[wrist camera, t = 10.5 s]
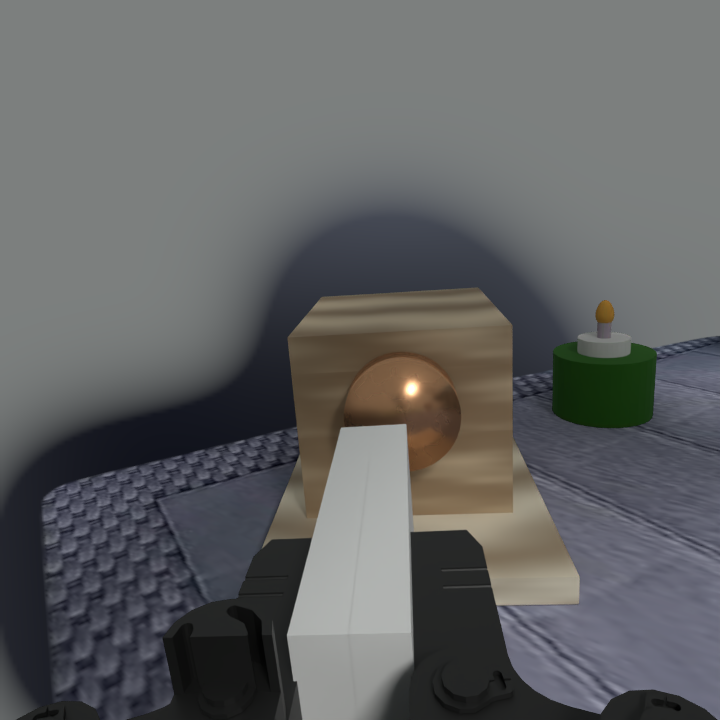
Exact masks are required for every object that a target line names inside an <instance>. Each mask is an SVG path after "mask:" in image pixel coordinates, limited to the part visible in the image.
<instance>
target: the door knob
mask: <svg viewBox="0 0 720 720" xmlns="http://www.w3.org/2000/svg"><path fill="white" fill-rule="evenodd" d="M397 424H406V427H407V441H408V455H409V469H410V471H416V470H420V469H423V468H426V467H428V466H430V465H432V464H434V463H436V462H437V461H439V460H440V459H441V458H442V457H444V456H445V455H446V454H447V452H448V451H449V450H450V449H451V448H452V446H453V445H454V443H455V441H456V439H457V437H458V434H459V431H460V426H461V408H460V404H459V400H458V397H457V393H456V390H455V387H454V384H453V382H452V380H451V379H450V377H449V375H448V374H447V373H446V371H445V370H444V369H443V368H442V367H441V366H440V365H438V364H437V363H436V362H434V361H433V360H431V359H429V358H427V357H425V356H423V355H420V354H416V353H411V352H393V353H388V354H384V355H382V356H379V357H377V358H375V359H373V360H371V361H370V362H369V363H367V364H366V365H365V366H364V367H363V368H362V369H361V370H360V371H359V372H358V373H357V375H356V376H355V378H354V380H353V381H352V384H351V386H350V389H349V392H348V396H347V400H346V403H345V408H344V425H345V427H361V426H379V425H397Z"/></svg>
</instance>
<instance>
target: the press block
mask: <svg viewBox="0 0 720 720" xmlns="http://www.w3.org/2000/svg"><path fill="white" fill-rule="evenodd" d="M288 345H289V354H290V364H291V374H292V383H293V393H294V402H295V412H296V421H297V430H298V440H299V449H300V455H299V458H298V460H297V463H296V465H295V468H294V470H293V473H292V475H291V478H290V480H289V482H288V485H287V487H286V490H285V492H284V495H283V497H282V500H281V502H280V505H279V507H278V510H277V512H276V515H275V517H274V520H273V522H272V525H271V527H270V530H269V532H268V535H267V537H266V539H265V542H264V544H263V547H264V546H265V545H266V544H267V543H269V542H270V541H271V540H272V539H296V538H312V537H313V533H314V530H315V526H316V522H317V518H318V514H319V510H320V507H321V503H322V499H323V495H324V491H325V487H326V483H327V480H328V476H329V472H330V468H331V464H332V460H333V457H334V453H335V449H336V445H337V441H338V437H339V434H340V430H341V428H343V427H345V425H344V408H345V403H346V400H347V396H348V392H349V389H350V386H351V384H352V381H353V380H354V378H355V376H356V375H357V373H358V372H359V371H360V370H361V369H362V368H363V367H364V366H365V365H366V364H367V363H369V362H370V361H371V360H373V359H375V358H377V357H379V356H382V355H384V354H388V353H393V352H411V353H416V354H420V355H423V356H425V357H427V358H429V359H431V360H433V361H434V362H436V363H437V364H438V365H440V366H441V367H442V368H443V369H444V370H445V371H446V373H447V374H448V375H449V377H450V379H451V380H452V382H453V384H454V387H455V390H456V393H457V397H458V400H459V404H460V408H461V426H460V431H459V434H458V437H457V439H456V441H455V443H454V445H453V446H452V448H451V449H450V450H449V451H448V452H447V454H446V455H445V456H444V457H442V458H441V459H440V460H439V461H437V462H436V463H434V464H432V465H430V466H428V467H426V468H423V469H420V470H416V471H410V483H411V497H412V511H413V525H414V532H423V531H448V530H467V531H468V532H469V533H470V534H471V535H472V536H473V537H474V538H475V539H476V540H477V541H478V542H479V543H480V544H481V545H482V546H483V551H484V555H485V559H486V564H487V570H488V572H489V577H490V581H491V587H492V589H493V594H494V598H495V602H496V605H553V604H579V582H580V577H579V575H578V572H577V570H576V568H575V566H574V564H573V562H572V560H571V558H570V556H569V554H568V551H567V549H566V547H565V545H564V543H563V541H562V539H561V537H560V535H559V533H558V530H557V528H556V526H555V524H554V522H553V520H552V518H551V516H550V514H549V512H548V509H547V507H546V505H545V503H544V501H543V499H542V497H541V495H540V493H539V491H538V489H537V486H536V484H535V482H534V480H533V478H532V476H531V474H530V472H529V470H528V468H527V465H526V463H525V461H524V459H523V457H522V455H521V453H520V451H519V449H518V447H517V444H516V442H515V440H514V438H513V389H512V324H511V323H510V322H509V321H508V320H507V319H506V318H505V317H504V316H503V314H502V313H501V312H500V311H499V310H498V309H497V308H496V307H495V306H494V305H493V303H492V302H491V301H490V300H489V299H488V298H487V297H486V296H485V295H484V294H483V292H482V291H481V290H480V289H479V288H465V289H448V290H432V291H416V292H400V293H382V294H366V295H350V296H334V297H321V299H320V300H319V301H318V302H317V303H316V305H315V306H314V307H313V308H312V309H311V310H310V312H309V313H308V314H307V315H306V316H305V318H304V319H303V320H302V321H301V323H300V324H299V325H298V326H297V327H296V329H294V331H293V332H292V333H291V334H290V335H289V337H288ZM263 547H262V548H263Z"/></svg>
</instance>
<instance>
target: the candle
mask: <svg viewBox="0 0 720 720" xmlns="http://www.w3.org/2000/svg"><path fill="white" fill-rule="evenodd" d="M613 319H614V309H613V307H612V305H611V303H610V302H609V301H607V300H604V301H602V302H601V303H600V304H599V306H598V308H597V310H596V320H597V322H598V325H597V332H589V333H584V334H580V335H579V336H578V342H571V343H567V344H563V345H560V346H558V347H556V348H555V349H554V351H553V403H552V410H553V412H554V414H556V415H557V416H558V417H560V418H561V419H563V420H566V421H568V422H572V423H575V424H579V425H584V426H590V427H598V428H624V427H632V426H637V425H641V424H644V423H646V422H648V421H649V420H650V419H651V418H652V416H653V405H654V390H655V374H656V358H657V353H656V351H655V350H653V349H652V348H649V347H647V346H643V345H639V344H635V343H631V337H630V336H629V335H626V334H622V333H616V332H611V322H612V321H613Z"/></svg>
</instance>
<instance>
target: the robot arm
mask: <svg viewBox="0 0 720 720" xmlns="http://www.w3.org/2000/svg"><path fill="white" fill-rule="evenodd" d="M245 578H246V579H245V581H244V582H243V584H242V586H241V589H240V591H239V597H238V598H237V599H228V600H222V601H216V602H211V603H209V604H206V605H204V606H201V607H199V608H196V609H194V610H192V611H190V612H189V613H187V614H186V615H185V616H183V617H182V618H180V619H179V620H177V621H176V622H175V623H174V624H173V625H172V626H171V628H170V629H169V630H168V631H167V633H166V634H165V635H164V637H163V643H164V647H165V652H166V657H167V661H168V666H169V671H170V676H171V680H172V685H173V690H174V696H173V699H172V701H171V703H170V704H169V705H167V706H165V707H163V708H161V709H158V710H156V711H153V712H150V713H148V714H145V715H141V716H138V717H134V718H131V719H127V720H717V719H716V718H715V717H714V716H712V715H711V714H710V713H709V712H708V711H707V710H705V709H704V708H702V707H700V706H698V705H696V704H694V703H692V702H690V701H688V700H686V699H684V698H682V697H680V696H677V695H673V694H669V693H665V692H661V691H656V690H635V691H628V692H626V693H624V694H621V695H619V696H617V697H615V698H613V699H611V700H610V702H609V703H608V704H607V706H606V707H605V709H604V710H603V711H602V713H601V715H600V714H597V713H593V712H589V711H585V710H581V709H577V708H574V707H570V706H567V705H564V704H561V703H558V702H556V701H553V700H550V699H548V698H547V697H545V696H543V695H541V694H540V693H538V692H536V691H534V690H533V689H532V688H531V687H530V686H529V685H527V684H526V683H525V682H524V681H523V680H522V679H521V678H520V677H519V675H518V674H517V673H516V671H515V670H514V669H513V667H512V664H511V662H510V659H509V657H508V654H507V649H506V645H505V641H504V637H503V632H502V628H501V624H500V619H499V615H498V611H497V607H496V602H495V598H494V594H493V589H492V587H491V581H490V577H489V572H488V570H487V564H486V559H485V555H484V551H483V546H482V545H481V544H480V543H479V542H478V541H477V540H476V539H475V538H474V537H473V536H472V535H471V534H470V533H469V532H468V531H467V530H448V531H423V532H414V525H413V511H412V497H411V483H410V469H409V455H408V441H407V427H406V424H397V425H379V426H361V427H343V428H341V430H340V434H339V437H338V441H337V445H336V449H335V453H334V457H333V460H332V464H331V468H330V472H329V476H328V480H327V483H326V487H325V491H324V495H323V499H322V503H321V507H320V510H319V514H318V518H317V522H316V526H315V530H314V533H313V537H312V538H296V539H272V540H271V541H270V542H269V543H267V544H266V545H265V546H264V547H263V548H262V549H261V550H260V551H259V552H258V553H257V554H256V555H255V556H254V557H253V560H252V562H251V564H250V567H249V569H248V572H247V574H246V577H245ZM17 720H100V718H99V716H98V714H97V712H96V709H95V708H93V707H91V706H89V705H87V704H85V703H83V702H77V701H61V702H57V703H54V704H50V705H46V706H43V707H39V708H37V709H35V710H34V711H32V712H30V713H28V714H26V715H24V716H22V717H20V718H18V719H17Z"/></svg>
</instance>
